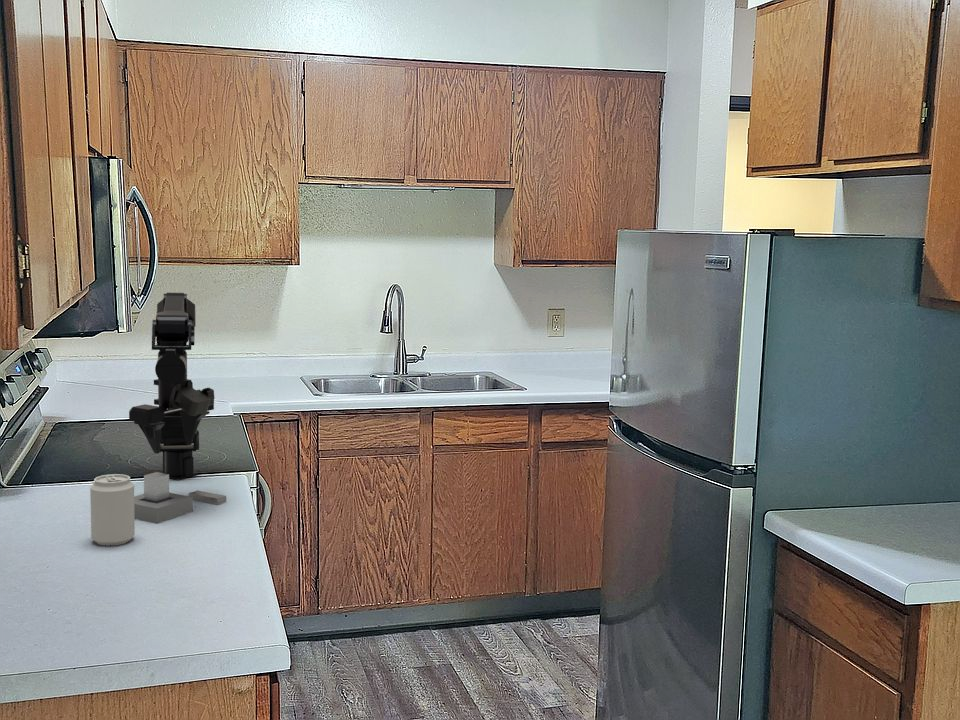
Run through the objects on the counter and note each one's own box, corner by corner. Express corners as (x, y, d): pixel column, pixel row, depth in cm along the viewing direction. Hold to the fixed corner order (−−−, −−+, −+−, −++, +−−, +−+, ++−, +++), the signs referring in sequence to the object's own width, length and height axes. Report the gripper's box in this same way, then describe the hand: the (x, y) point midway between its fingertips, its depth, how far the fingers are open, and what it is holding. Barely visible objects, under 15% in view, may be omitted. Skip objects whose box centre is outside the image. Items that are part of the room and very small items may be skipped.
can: (99, 549, 172) (98, 484, 171) (85, 538, 178) (84, 475, 176) (140, 542, 177) (140, 478, 175) (126, 532, 183) (125, 470, 181)
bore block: (119, 515, 193) (119, 500, 192) (156, 503, 202) (156, 490, 201) (157, 523, 188) (157, 508, 188) (193, 511, 197) (193, 496, 197)
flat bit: (188, 501, 206) (188, 493, 206) (197, 498, 208) (197, 490, 208) (217, 506, 202) (217, 498, 202) (226, 503, 205) (226, 495, 205)
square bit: (144, 514, 194) (143, 475, 193) (156, 510, 197) (156, 472, 196) (157, 516, 193) (156, 477, 192) (169, 512, 196) (169, 474, 195)
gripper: (168, 386, 186) (169, 464, 189) (233, 373, 203) (233, 445, 205) (126, 379, 191) (127, 455, 193) (193, 367, 208) (194, 438, 210)
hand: (173, 448), depth 200 cm, fingers open, 9 cm apart
